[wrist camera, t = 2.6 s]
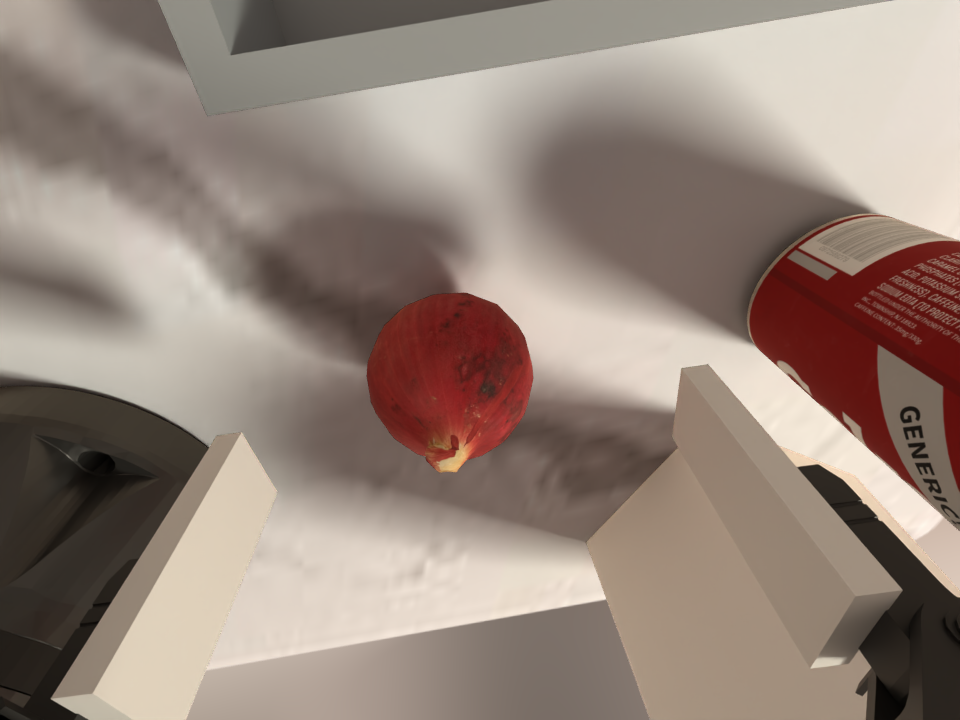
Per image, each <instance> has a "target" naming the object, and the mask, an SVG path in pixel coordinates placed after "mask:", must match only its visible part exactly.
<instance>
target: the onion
mask: <svg viewBox="0 0 960 720" xmlns="http://www.w3.org/2000/svg"><path fill="white" fill-rule="evenodd" d="M367 381H368V387H369V393H370V399H371V404H372V406H373V408H374V410H375V412H376V414H377V415H378V417H379V418H380V420H381V421H382V423H383V424H384V425H385V427H386V428H387V430H388V431H389V433H390V434H391V435H392V436H393V437H394V438H395V439H396V440H397V441H399V442H400V443H402V444H403V445H405V446H406V447H407V448H409V449H410V450H412V451H413V452H415V453H416V454H419V455H422V456H426V461H427V462H428V463H429V464H430V465H431V466H432V467H433V468H434V469H436V470H437V471H438V472H439V473H441V472H447V471H449V472H457V470H458V469H459V468H460V467H461V466H462V465H463V463H464V462H465V461H466V460H468V459H472V458H476V457H479V456H482V455H484V454H485V453H487V452H489V451H490V450H492V449H493V448H495V447H497V446H498V445H500V444H501V443H502V442H503V441H505V440H506V439H507V438H508V436H509V435H510V434H511V432H512V431H513V430H514V428H515V427H516V426H517V424H518V423H519V422H520V420H521V418H522V417H523V415H524V414H525V411H526V407H527V404H528V400H529V396H530V391H531V387H532V382H533V370H532V363H531V359H530V355H529V351H528V347H527V343H526V340H525V337H524V335H523V333H522V332H521V330H520V328H519V326H518V325H517V324H516V323H515V322H514V321H513V320H512V319H511V318H510V317H509V316H508V315H507V314H506V313H505V312H504V311H503V310H502V309H501V308H500V307H499V306H498V305H497V304H495V303H492V302H490V301H487V300H484V299H482V298H479V297H476V296H474V295H471V294H468V293H452V294H436V295H431V296H429V297H426V298H424V299H421V300H419V301H416V302H414V303H411V304H409V305H406V306H405V307H404V308H403V309H401V310H400V311H399V312H398V313H397V314H396V315H395V316H394V317H393V318H392V319H391V320H390V321H389V322H388V323H387V324H385V325H384V327H383V329H382V331H381V332H380V334H379V336H378V338H377V341H376V343H375V345H374V348H373V350H372V353H371V355H370V358H369V360H368V365H367Z"/></svg>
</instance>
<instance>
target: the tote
mask: <svg viewBox="0 0 960 720" xmlns="http://www.w3.org/2000/svg"><path fill="white" fill-rule="evenodd" d="M886 1H892V0H158V3H159V5H160V7H161V10H162V12H163V14H164V17H165V19H166V21H167V24H168V26H169V28H170V31H171V33H172V35H173V38H174V40H175V42H176V45H177V47H178V49H179V52H180V54H181V56H182V59H183V61H184V63H185V66H186V68H187V70H188V73H189V75H190V77H191V80H192V82H193V84H194V87H195V89H196V91H197V94H198V96H199V98H200V101H201V103H202V105H203V108H204V110H205V112H206V115H207V116H212V115H218V114H224V113H230V112H236V111H242V110H248V109H254V108H259V107H265V106H271V105H277V104H283V103H289V102H295V101H301V100H307V99H313V98H319V97H324V96H330V95H336V94H342V93H348V92H354V91H360V90H366V89H372V88H378V87H384V86H389V85H395V84H401V83H407V82H413V81H419V80H425V79H431V78H437V77H443V76H449V75H454V74H460V73H466V72H472V71H478V70H484V69H490V68H496V67H502V66H508V65H514V64H519V63H525V62H531V61H537V60H543V59H549V58H555V57H561V56H567V55H573V54H579V53H584V52H590V51H596V50H602V49H608V48H614V47H620V46H626V45H632V44H638V43H644V42H649V41H655V40H661V39H667V38H673V37H679V36H685V35H691V34H697V33H703V32H709V31H714V30H720V29H726V28H732V27H738V26H744V25H750V24H756V23H762V22H768V21H774V20H779V19H785V18H791V17H797V16H803V15H809V14H815V13H821V12H827V11H833V10H839V9H844V8H850V7H856V6H862V5H868V4H874V3H880V2H886Z"/></svg>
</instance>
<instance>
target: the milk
mask: <svg viewBox="0 0 960 720" xmlns="http://www.w3.org/2000/svg"><path fill="white" fill-rule="evenodd" d="M779 447H780V448H781V449H782V451H783V452H784V453H785V454H786V455H787V456H788V458H789V459H790V460H791V461H792V462H793V463H794V465H795V466H796V467H800V466H807V465H815V464H819V465H820V466H822V467H824V468H825V469H827V470H828V471H830V472H832V473H833V474H835V475H836V476H838V477H839V478H841V479H843V480H844V481H845V482H846V483H847V484H848V485H849V486H850V488H851V489H852V490H853V491H854V492H855V493H856V494H857V495H858V496H859V497H860V498H861V499H862V502H863V504H867V505H868V507H869V508H870V509H871V510H872V511H873V512H874V513H875V514H876V515H877V516H878V519H879V520H880V521H883V522H884V523H885V524H886V525H887V527H888V528H889V529H890V530H891V531H892V532H893V533H894V534H895V535H896V536H897V537H898V538H899V539H900V540H901V541H902V542H903V543H904V544H905V546H906V547H907V548H908V549H909V550H910V551H911V552H912V553H913V554H914V555H915V556H916V557H917V558H918V559H919V560H920V561H921V562H922V563H923V565H924V566H925V567H926V568H927V569H928V570H929V571H930V572H931V573H932V574H933V575H934V576H935V577H936V578H937V579H938V580H939V581H940V582H941V583H942V584H943V585H944V586H945V587H946V588H947V589H948V590H949V591H950V592H951V593H952V594H954V595H955V596H956V597H960V590H959V589H958V588H957V587H956V586H955V585H954V584H953V583H952V581H951V580H950V579H949V578H948V577H947V576H946V575H945V574H944V573H943V572H942V570H940V569H939V567H938V566H937V565H936V564H935V563H934V562H933V561H932V559H931V558H930V557H929V556H928V555H927V554H926V553H925V552H924V551H923V550H922V549H921V547H920V546H919V545H918V544H917V543H916V542H915V541H914V540H913V539H912V538H911V536H910V535H909V534H908V533H907V532H906V531H905V530H904V529H903V528H902V527H901V525H900V524H899V523H898V522H897V521H896V520H895V519H894V518H893V517H892V516H891V514H890V513H889V512H888V511H887V510H886V509H885V508H884V507H883V506H882V505H881V504H880V502H879V501H878V500H877V499H876V498H875V497H874V496H873V495H872V494H871V493H870V491H869V490H868V489H867V488H866V487H865V486H864V485H863V484H862V483H861V482H860V480H859V479H858V478H857V477H856V476H855V475H853V474H850V473H848V472H845V471H842V470H840V469H837V468H835V467H832V466H830V465H827V464H824V463H822V462H819V461H817V460H814V459H812V458H809V457H806V456H804V455H801V454H799V453H796V452H794V451H791V450H789V449H786V448H783V447H781V446H779ZM586 544H587V547H588V549H589V552H590V555H591V558H592V560H593V563H594V566H595V569H596V571H597V574H598V577H599V580H600V583H601V585H602V588H603V591H604V594H605V596H606V599H607V601H608V605H609V607H610V610H611V613H612V616H613V618H614V621H615V624H616V627H617V630H618V632H619V635H620V638H621V641H622V644H623V646H624V649H625V652H626V655H627V657H628V660H629V663H630V666H631V668H632V671H633V674H634V677H635V679H636V682H637V685H638V688H639V690H640V693H641V696H642V699H643V702H644V705H645V707H646V710H647V713H648V715H649V718H650V720H866V707H867V692H866V693H865V694H864V695H863V696H860V695H858V694H856V693H855V692H856V689H857V687H858V684H859V682H860V681H861V680H862V679H863V677H864V676H865V675H866V674H867V672H868V671H869V670H870V669H871V668H872V667H871V666H870V665H869V663H868V662H867V660H866V659H865V657H864V656H863V655H862V653H861V652H860V650H859V651H858V652H857V654H856V655H855V656H854V658H853V659H852V660H851V662H850V663H849V664H844V665H836V666H828V667H819V668H811V669H810V668H809V666H808V664H807V663H806V661H805V659H804V658H803V656H802V654H801V653H800V651H799V649H798V648H797V646H796V644H795V643H794V641H793V639H792V638H791V636H790V634H789V633H788V631H787V629H786V628H785V626H784V624H783V623H782V621H781V619H780V617H779V616H778V614H777V612H776V611H775V609H774V607H773V606H772V604H771V602H770V601H769V599H768V597H767V596H766V594H765V592H764V591H763V589H762V587H761V586H760V584H759V582H758V581H757V579H756V577H755V576H754V574H753V572H752V571H751V569H750V567H749V565H748V564H747V562H746V560H745V559H744V557H743V555H742V554H741V552H740V550H739V549H738V547H737V545H736V544H735V542H734V540H733V539H732V537H731V535H730V534H729V532H728V530H727V529H726V527H725V525H724V524H723V522H722V520H721V519H720V517H719V515H718V513H717V512H716V510H715V508H714V507H713V505H712V503H711V502H710V500H709V498H708V497H707V495H706V493H705V492H704V490H703V488H702V487H701V485H700V483H699V482H698V480H697V478H696V477H695V475H694V473H693V472H692V470H691V468H690V467H689V465H688V463H687V461H686V460H685V458H684V456H683V455H682V453H681V451H680V450H679V448H677V449H676V450H675V451H674V452H673V453H672V454H671V455H670V456H669V457H668V458H667V459H666V460H665V461H664V462H663V463H662V464H661V465H660V466H659V467H658V468H657V469H656V470H655V472H654V473H653V474H652V475H651V476H650V477H649V478H648V479H647V480H646V481H645V482H644V483H643V484H642V485H641V486H640V487H639V488H638V489H637V490H636V491H635V492H634V493H633V494H632V495H631V496H630V497H629V498H628V499H627V501H626V502H625V503H624V504H623V505H622V506H621V507H620V508H619V509H618V510H617V511H616V512H615V513H614V514H613V515H612V516H611V517H610V518H609V519H608V520H607V521H606V522H605V523H604V524H603V525H602V526H601V527H600V528H599V529H598V531H597V532H596V533H595V534H594V535H593V536H592V537H591V538H590V539H589V540H588V541H587V542H586Z"/></svg>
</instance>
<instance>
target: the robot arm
mask: <svg viewBox="0 0 960 720" xmlns="http://www.w3.org/2000/svg"><path fill="white" fill-rule="evenodd" d="M672 438H673V440H674V441H675V443H676V445H677V446H678V448H679V450H680V451H681V453H682V455H683V456H684V458H685V460H686V461H687V463H688V465H689V467H690V468H691V470H692V472H693V473H694V475H695V477H696V478H697V480H698V482H699V483H700V485H701V487H702V488H703V490H704V492H705V493H706V495H707V497H708V498H709V500H710V502H711V503H712V505H713V507H714V508H715V510H716V512H717V513H718V515H719V517H720V519H721V520H722V522H723V524H724V525H725V527H726V529H727V530H728V532H729V534H730V535H731V537H732V539H733V540H734V542H735V544H736V545H737V547H738V549H739V550H740V552H741V554H742V555H743V557H744V559H745V560H746V562H747V564H748V565H749V567H750V569H751V571H752V572H753V574H754V576H755V577H756V579H757V581H758V582H759V584H760V586H761V587H762V589H763V591H764V592H765V594H766V596H767V597H768V599H769V601H770V602H771V604H772V606H773V607H774V609H775V611H776V612H777V614H778V616H779V617H780V619H781V621H782V623H783V624H784V626H785V628H786V629H787V631H788V633H789V634H790V636H791V638H792V639H793V641H794V643H795V644H796V646H797V648H798V649H799V651H800V653H801V654H802V656H803V658H804V659H805V661H806V663H807V664H808V666H809V668H810V669H811V668H819V667H828V666H836V665H844V664H849V663H850V662H851V660H852V659H853V658H854V656H855V655H856V654H857V652H858V651H859V650H860V652H861V653H862V655H863V656H864V657H865V659H866V660H867V662H868V663H869V665H870V666H871V667H872V668H871V669H870V670H869V671H868V672H867V674H866V675H865V676H864V677H863V679H862V680H861V681H860V682H859V684H858V687H857V689H856V692H855V693H856V694H858V695H860V696H863V695H864V694H865V693H866V692H867V707H866V720H960V597H956V596H955V595H954V594H952V593H951V592H950V591H949V590H948V589H947V588H946V587H945V586H944V585H943V584H942V583H941V582H940V581H939V580H938V579H937V578H936V577H935V576H934V575H933V574H932V573H931V572H930V571H929V570H928V569H927V568H926V567H925V566H924V565H923V563H922V562H921V561H920V560H919V559H918V558H917V557H916V556H915V555H914V554H913V553H912V552H911V551H910V550H909V549H908V548H907V547H906V546H905V544H904V543H903V542H902V541H901V540H900V539H899V538H898V537H897V536H896V535H895V534H894V533H893V532H892V531H891V530H890V529H889V528H888V527H887V525H886V524H885V523H884V522H883V521H880V520H879V519H878V516H877V515H876V514H875V513H874V512H873V511H872V510H871V509H870V508H869V507H868V505H867V504H863V502H862V499H861V498H860V497H859V496H858V495H857V494H856V493H855V492H854V491H853V490H852V489H851V488H850V486H849V485H848V484H847V483H846V482H845V481H844V480H843V479H841V478H839V477H838V476H836V475H835V474H833V473H832V472H830V471H828V470H827V469H825V468H824V467H822V466H820V465H819V464H815V465H807V466H800V467H796V466H795V465H794V463H793V462H792V461H791V460H790V459H789V458H788V456H787V455H786V454H785V453H784V452H783V451H782V449H781V448H780V447H779V446H778V445H777V444H776V443H775V441H774V440H773V439H772V438H771V437H770V436H769V434H768V433H767V432H766V431H765V430H764V429H763V427H762V426H761V425H760V424H759V423H758V422H757V420H756V419H755V418H754V417H753V416H752V415H751V414H750V412H749V411H748V410H747V409H746V408H745V407H744V405H743V404H742V403H741V402H740V401H739V400H738V398H737V397H736V396H735V395H734V394H733V393H732V391H731V390H730V389H729V388H728V387H727V386H726V385H725V383H724V382H723V381H722V380H721V379H720V378H719V376H718V375H717V374H716V373H715V372H714V371H713V369H712V368H711V367H710V366H709V365H708V364H707V365H700V366H693V367H686V368H682V369H681V376H680V383H679V390H678V397H677V404H676V412H675V419H674V426H673V433H672ZM277 493H278V492H277V490H276V489H275V487H274V485H273V484H272V482H271V480H270V479H269V477H268V475H267V474H266V472H265V470H264V469H263V467H262V465H261V464H260V462H259V460H258V459H257V457H256V455H255V454H254V452H253V450H252V449H251V447H250V445H249V444H248V442H247V440H246V439H245V437H244V435H243V434H242V432H239V433H233V434H226V435H219V436H216V438H215V439H214V441H213V443H212V444H211V446H210V447H209V449H208V448H207V447H206V446H205V445H203V444H202V443H201V442H199V441H198V440H196V439H195V438H194V437H192V436H191V435H189V434H187V433H186V432H184V431H183V430H181V429H179V428H177V427H176V426H174V425H172V424H170V423H168V422H166V421H164V420H162V419H160V418H158V417H156V416H154V415H152V414H150V413H147V412H145V411H142V410H140V409H137V408H135V407H132V406H129V405H127V404H124V403H121V402H118V401H114V400H111V399H108V398H104V397H100V396H96V395H92V394H88V393H83V392H78V391H73V390H66V389H59V388H50V387H37V386H9V387H0V720H186V718H187V715H188V713H189V711H190V708H191V706H192V703H193V701H194V698H195V696H196V693H197V691H198V688H199V686H200V683H201V681H202V678H203V676H204V673H205V671H206V669H207V666H208V664H209V661H210V659H211V656H212V654H213V651H214V649H215V646H216V644H217V641H218V639H219V636H220V634H221V631H222V629H223V627H224V624H225V622H226V619H227V617H228V614H229V612H230V609H231V607H232V604H233V602H234V599H235V597H236V594H237V592H238V590H239V587H240V585H241V582H242V580H243V577H244V575H245V572H246V570H247V567H248V565H249V562H250V560H251V557H252V555H253V552H254V550H255V548H256V545H257V543H258V540H259V538H260V535H261V533H262V530H263V528H264V525H265V523H266V520H267V518H268V515H269V513H270V510H271V508H272V506H273V503H274V501H275V498H276V496H277Z"/></svg>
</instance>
